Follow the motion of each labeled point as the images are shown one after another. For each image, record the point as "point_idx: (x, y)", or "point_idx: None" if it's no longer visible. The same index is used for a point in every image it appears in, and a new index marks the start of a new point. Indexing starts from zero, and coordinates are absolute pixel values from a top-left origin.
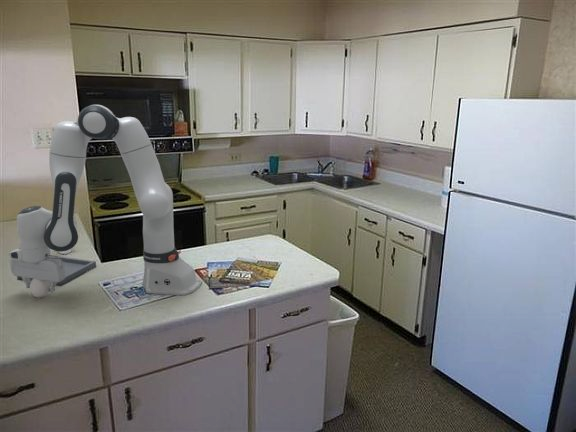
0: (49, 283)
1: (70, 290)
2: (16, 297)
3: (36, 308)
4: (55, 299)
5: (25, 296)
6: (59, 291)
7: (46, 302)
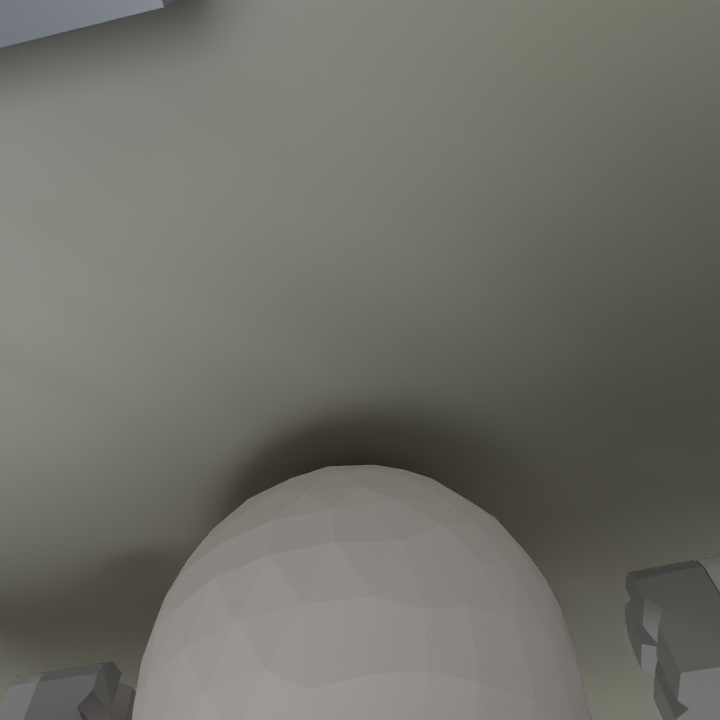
0: (539, 666)
1: (691, 30)
2: (49, 666)
3: (616, 683)
4: (675, 462)
5: (118, 607)
6: (463, 222)
7: (609, 568)
